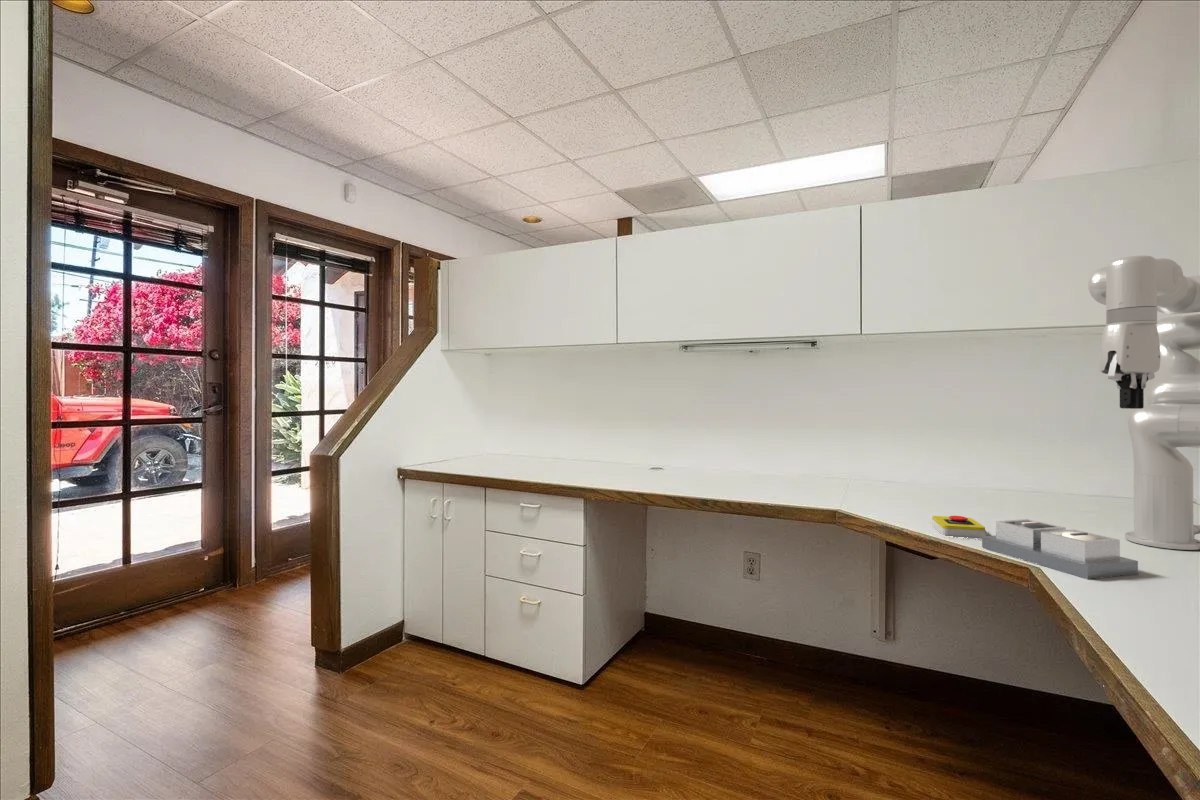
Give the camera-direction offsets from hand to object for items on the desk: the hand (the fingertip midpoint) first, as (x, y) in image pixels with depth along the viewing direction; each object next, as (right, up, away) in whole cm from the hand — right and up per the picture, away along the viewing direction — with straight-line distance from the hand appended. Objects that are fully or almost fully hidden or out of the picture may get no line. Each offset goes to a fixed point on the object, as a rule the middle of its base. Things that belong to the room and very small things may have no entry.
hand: (1131, 408), depth 114 cm
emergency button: (-20, -32, +25) cm, 45 cm away
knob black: (-16, -31, +6) cm, 35 cm away
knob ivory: (-14, -31, -4) cm, 34 cm away
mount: (-15, -31, +1) cm, 35 cm away
